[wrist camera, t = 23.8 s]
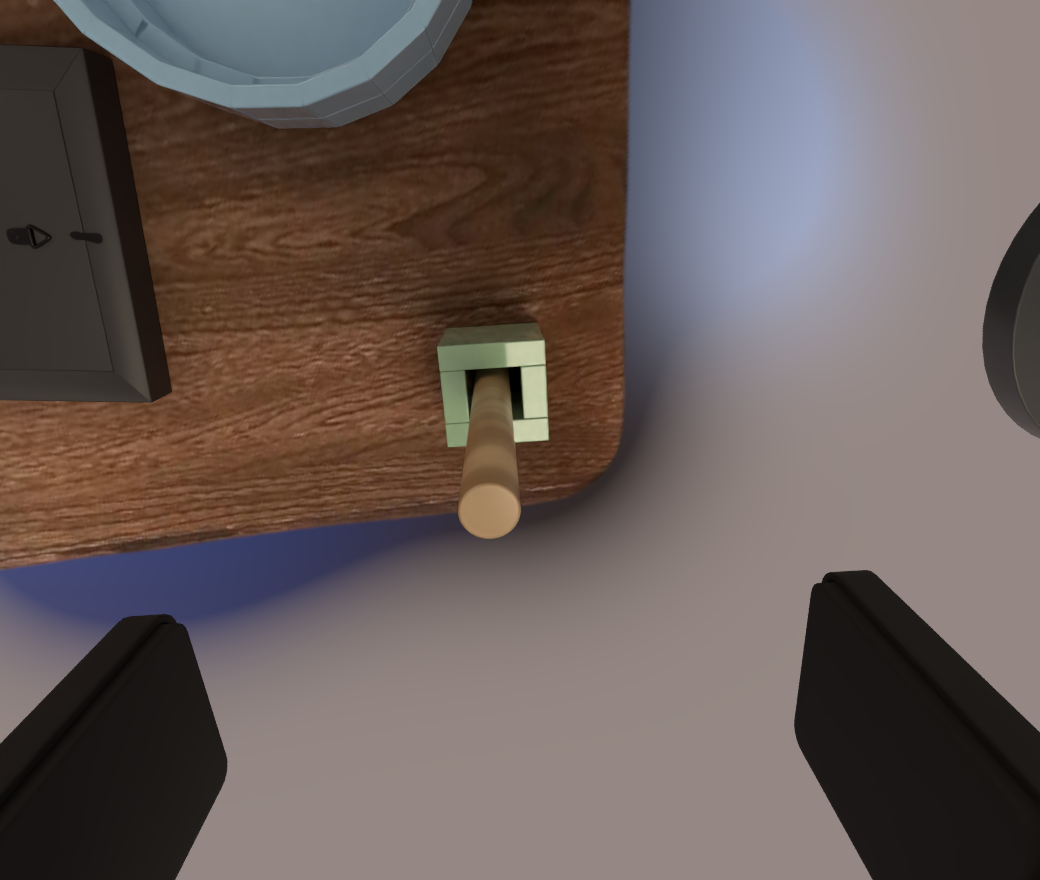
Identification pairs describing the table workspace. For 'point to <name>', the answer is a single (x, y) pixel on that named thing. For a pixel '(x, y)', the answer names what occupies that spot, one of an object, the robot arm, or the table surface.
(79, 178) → the picture frame
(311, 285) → the table surface
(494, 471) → the stick
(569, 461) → the table surface
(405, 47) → the light blue round tray
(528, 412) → the holder
